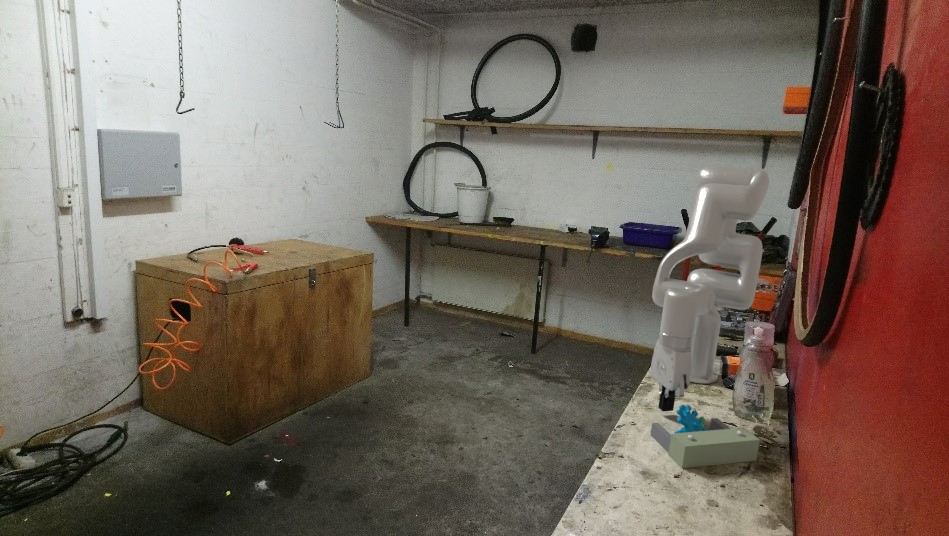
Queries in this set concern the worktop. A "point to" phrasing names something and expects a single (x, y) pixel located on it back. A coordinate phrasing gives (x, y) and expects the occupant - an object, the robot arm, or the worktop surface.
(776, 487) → the worktop surface
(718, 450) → the grey-green u-shaped bracket
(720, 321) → the robot arm
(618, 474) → the worktop surface
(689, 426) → the blue bumpy irregular piece
